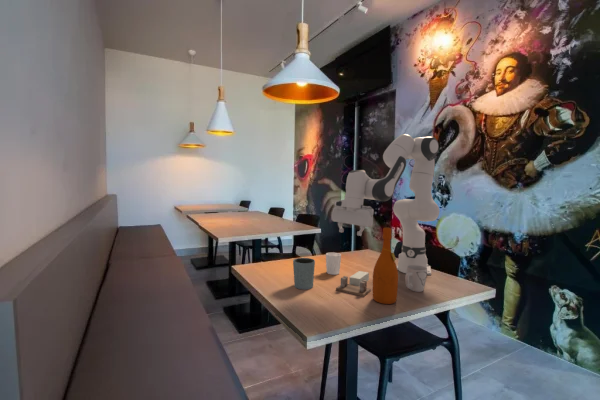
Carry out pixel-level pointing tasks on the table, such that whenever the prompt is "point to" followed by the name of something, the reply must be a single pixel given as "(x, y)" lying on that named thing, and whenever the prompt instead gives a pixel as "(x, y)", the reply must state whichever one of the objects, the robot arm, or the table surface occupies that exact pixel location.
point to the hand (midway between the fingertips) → (350, 233)
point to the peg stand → (353, 287)
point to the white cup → (333, 263)
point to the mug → (416, 277)
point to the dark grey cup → (303, 273)
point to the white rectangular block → (358, 278)
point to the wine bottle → (385, 273)
